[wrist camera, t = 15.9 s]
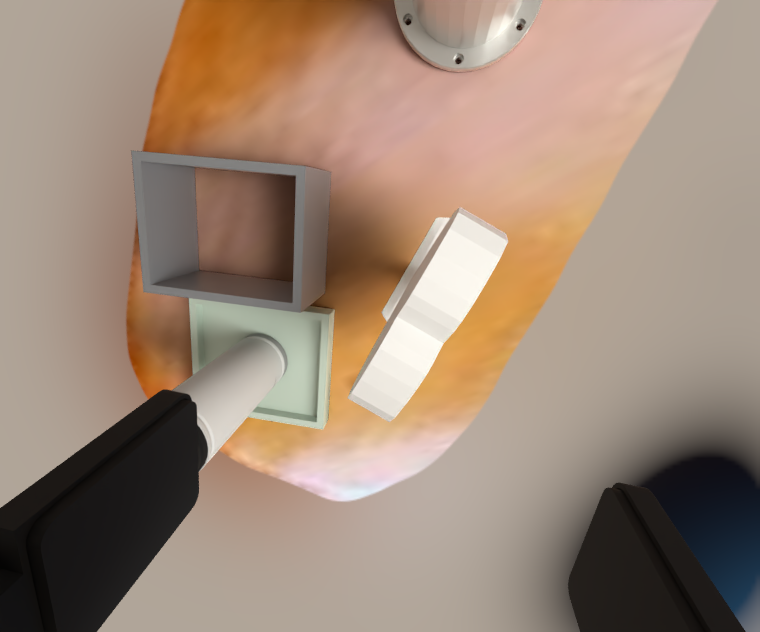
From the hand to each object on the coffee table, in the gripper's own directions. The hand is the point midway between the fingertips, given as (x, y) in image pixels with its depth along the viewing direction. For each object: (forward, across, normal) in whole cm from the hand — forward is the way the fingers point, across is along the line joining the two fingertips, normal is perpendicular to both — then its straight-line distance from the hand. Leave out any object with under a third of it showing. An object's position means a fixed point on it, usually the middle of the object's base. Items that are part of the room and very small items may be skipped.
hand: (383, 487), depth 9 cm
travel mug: (+33, +17, +15) cm, 40 cm away
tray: (+34, +17, +15) cm, 41 cm away
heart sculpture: (+34, 0, +3) cm, 34 cm away
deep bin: (+34, +19, 0) cm, 39 cm away
